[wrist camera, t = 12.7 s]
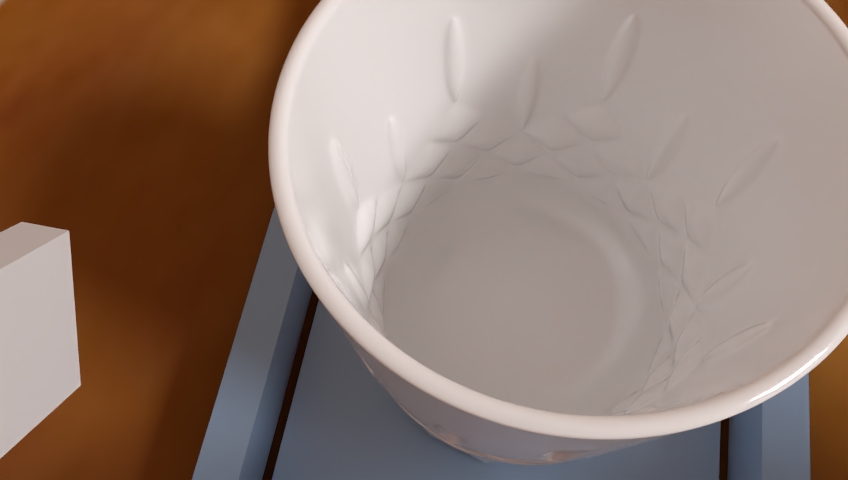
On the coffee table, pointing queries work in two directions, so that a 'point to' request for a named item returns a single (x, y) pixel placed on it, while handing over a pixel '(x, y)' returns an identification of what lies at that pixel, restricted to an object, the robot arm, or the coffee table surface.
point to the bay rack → (402, 436)
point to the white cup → (570, 208)
